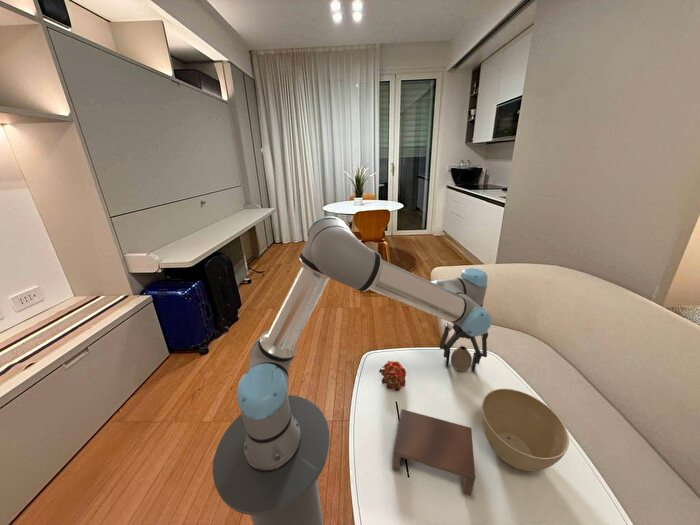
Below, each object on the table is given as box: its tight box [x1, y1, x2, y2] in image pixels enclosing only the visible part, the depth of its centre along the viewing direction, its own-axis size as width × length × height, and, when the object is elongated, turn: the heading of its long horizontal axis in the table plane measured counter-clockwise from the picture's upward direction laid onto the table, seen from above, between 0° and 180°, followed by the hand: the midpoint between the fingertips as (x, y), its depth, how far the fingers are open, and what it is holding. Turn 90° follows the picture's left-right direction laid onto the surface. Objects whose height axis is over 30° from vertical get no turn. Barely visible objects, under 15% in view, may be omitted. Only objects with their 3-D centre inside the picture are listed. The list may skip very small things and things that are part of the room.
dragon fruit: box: [378, 360, 407, 392], centre depth 90 cm, size 8×8×12 cm
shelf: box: [392, 408, 476, 497], centre depth 67 cm, size 18×12×7 cm, turn 71°
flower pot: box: [481, 388, 570, 472], centre depth 67 cm, size 18×18×12 cm
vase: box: [450, 345, 473, 372], centre depth 95 cm, size 7×7×9 cm
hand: (459, 366), depth 97 cm, fingers open, 8 cm apart
